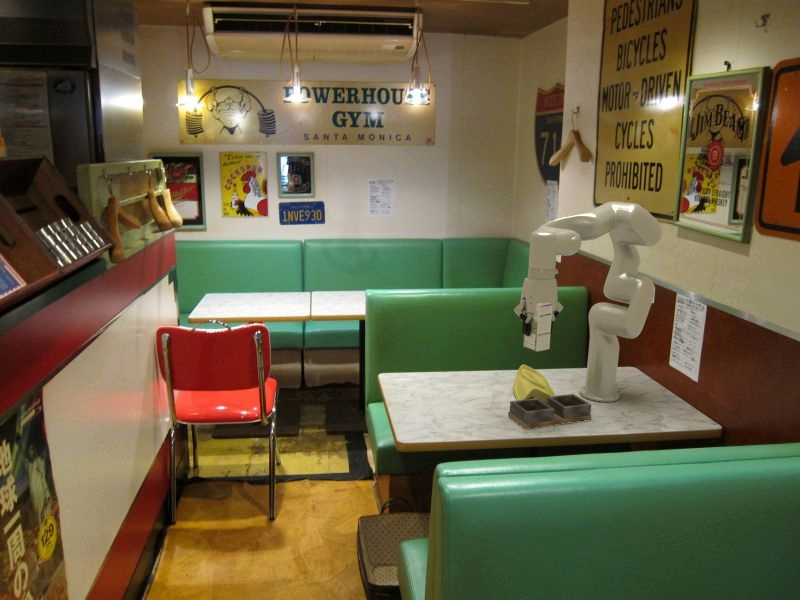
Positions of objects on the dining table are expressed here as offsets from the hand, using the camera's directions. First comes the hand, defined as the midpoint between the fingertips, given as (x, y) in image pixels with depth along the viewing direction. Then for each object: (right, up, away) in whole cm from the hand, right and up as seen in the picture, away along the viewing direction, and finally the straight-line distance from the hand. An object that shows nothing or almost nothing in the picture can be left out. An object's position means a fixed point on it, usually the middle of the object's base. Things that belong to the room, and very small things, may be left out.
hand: (537, 333), depth 200 cm
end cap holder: (+5, -26, +8) cm, 28 cm away
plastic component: (+4, -22, +28) cm, 36 cm away
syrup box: (0, -5, +1) cm, 5 cm away
